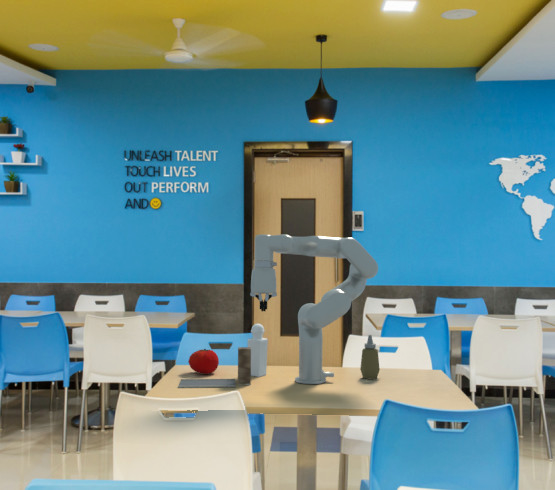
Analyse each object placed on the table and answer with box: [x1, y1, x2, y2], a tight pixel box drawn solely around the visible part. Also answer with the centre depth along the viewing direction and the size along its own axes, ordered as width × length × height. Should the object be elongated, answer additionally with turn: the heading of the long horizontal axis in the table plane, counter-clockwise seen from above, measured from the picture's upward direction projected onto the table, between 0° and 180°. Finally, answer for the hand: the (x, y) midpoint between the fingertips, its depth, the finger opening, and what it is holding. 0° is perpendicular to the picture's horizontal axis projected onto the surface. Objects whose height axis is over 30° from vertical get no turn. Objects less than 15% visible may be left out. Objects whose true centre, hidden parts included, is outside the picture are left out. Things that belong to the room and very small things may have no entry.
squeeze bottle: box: [360, 334, 381, 380], centre depth 245 cm, size 8×8×18 cm
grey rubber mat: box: [177, 378, 236, 389], centre depth 231 cm, size 22×14×1 cm, turn 94°
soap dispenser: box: [247, 323, 269, 378], centre depth 250 cm, size 6×6×22 cm
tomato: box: [188, 348, 220, 375], centre depth 253 cm, size 13×12×11 cm
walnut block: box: [237, 346, 252, 386], centre depth 232 cm, size 5×5×14 cm
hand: (263, 311), depth 233 cm, fingers closed
